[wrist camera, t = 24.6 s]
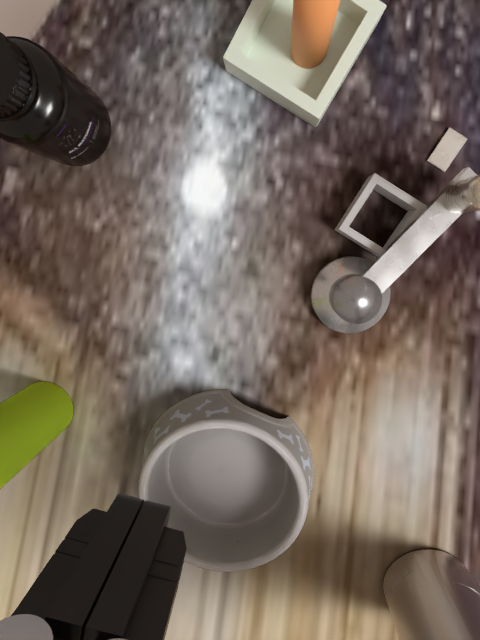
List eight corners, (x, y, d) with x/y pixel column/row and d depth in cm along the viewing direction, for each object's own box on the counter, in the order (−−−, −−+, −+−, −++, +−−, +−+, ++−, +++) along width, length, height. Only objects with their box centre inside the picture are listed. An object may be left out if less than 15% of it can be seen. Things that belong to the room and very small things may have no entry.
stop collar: (417, 208, 34) (427, 206, 31) (382, 259, 35) (390, 261, 32) (367, 177, 33) (374, 173, 31) (334, 229, 34) (338, 229, 32)
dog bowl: (176, 364, 39) (161, 384, 33) (341, 434, 39) (353, 465, 34) (123, 498, 42) (102, 534, 37) (274, 561, 43) (274, 606, 37)
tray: (377, 23, 31) (386, 5, 28) (315, 128, 33) (319, 119, 30) (283, -39, 30) (284, -63, 28) (226, 71, 32) (222, 57, 30)
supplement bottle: (113, 170, 35) (34, 136, 23) (41, 164, 35) (-72, 127, 24) (115, 87, 33) (32, 6, 22) (39, 82, 34) (-82, -1, 22)
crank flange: (491, 156, 32) (498, 153, 31) (358, 343, 36) (360, 346, 36) (422, 111, 32) (427, 107, 31) (296, 306, 36) (297, 308, 35)
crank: (351, 326, 35) (376, 353, 27) (319, 297, 35) (335, 315, 26) (480, 197, 32) (553, 183, 24) (447, 164, 31) (508, 139, 23)
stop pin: (335, 41, 31) (364, -63, 20) (313, 76, 32) (330, -6, 21) (304, 19, 31) (317, -96, 20) (283, 55, 31) (285, -38, 21)
